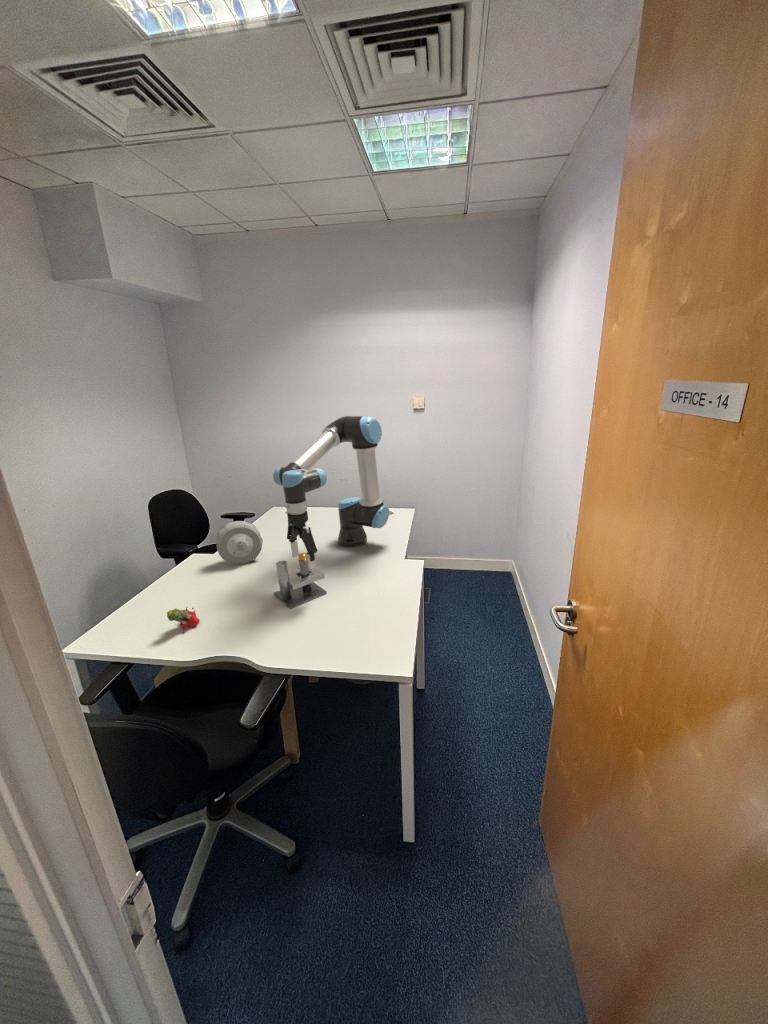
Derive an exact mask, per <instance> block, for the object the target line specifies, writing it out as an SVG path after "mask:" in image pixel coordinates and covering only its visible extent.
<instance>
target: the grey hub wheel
mask: <svg viewBox="0 0 768 1024" xmlns="http://www.w3.org/2000/svg"><path fill="white" fill-rule="evenodd" d="M215 542H216V549H217V553H218V555H219V557H220V558H221V559H222V560H223V561H224V562H227V563H228V564H230V565H235V566H236V565H237V566H238V565H246V564H249V563H251V562H253V561H254V560H255V559H256V558H257V557H258V556H259V554H261V551H262V549H263V537H262V536H261V533H260V531H259V529H258V528H257V527H256V526H255V525H254V524H252V523H251V522H248V521H245V520H235V521H231V522H228V523H227V524H225V525H224V526H222V528H221V529H220V530H219V532H218V533H217V536H216V541H215Z"/></svg>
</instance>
